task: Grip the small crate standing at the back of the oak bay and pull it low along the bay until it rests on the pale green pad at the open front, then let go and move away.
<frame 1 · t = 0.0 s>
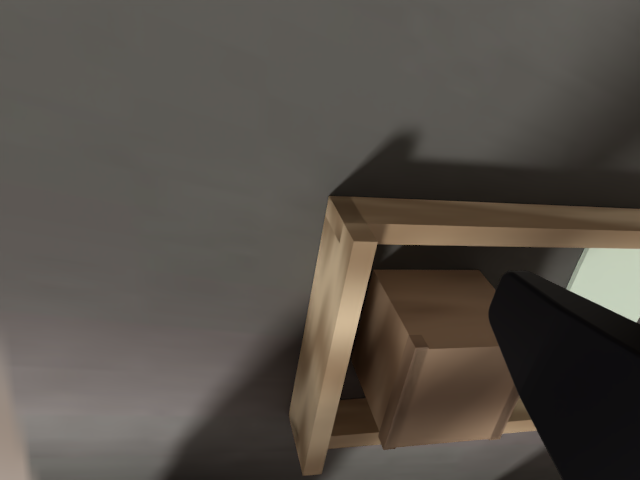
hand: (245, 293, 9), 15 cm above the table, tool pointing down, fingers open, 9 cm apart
crate: (413, 315, 30), resting in bay
front pad: (597, 312, 33), on the table
bay: (487, 315, 31), on the table
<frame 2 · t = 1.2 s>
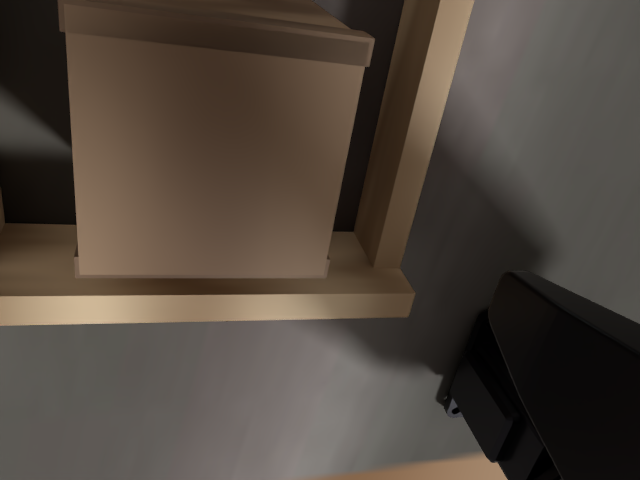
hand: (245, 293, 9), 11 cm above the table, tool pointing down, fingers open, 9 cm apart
crate: (202, 87, 17), resting in bay
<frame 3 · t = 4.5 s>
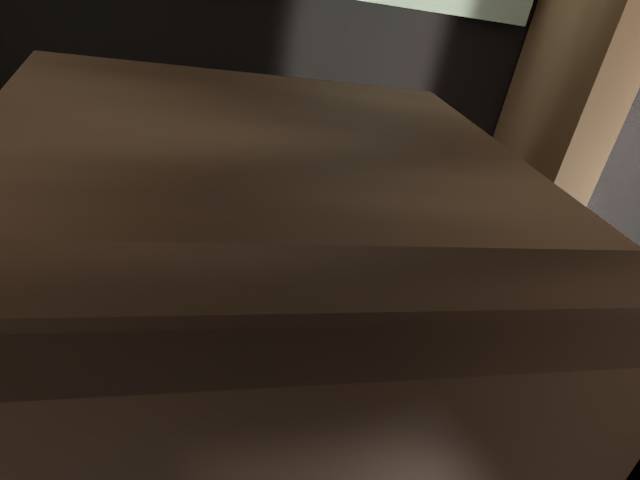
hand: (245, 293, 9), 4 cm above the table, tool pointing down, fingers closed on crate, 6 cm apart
crate: (235, 242, 10), point 3 cm above the table, touching gripper
bay: (227, 201, 12), on the table
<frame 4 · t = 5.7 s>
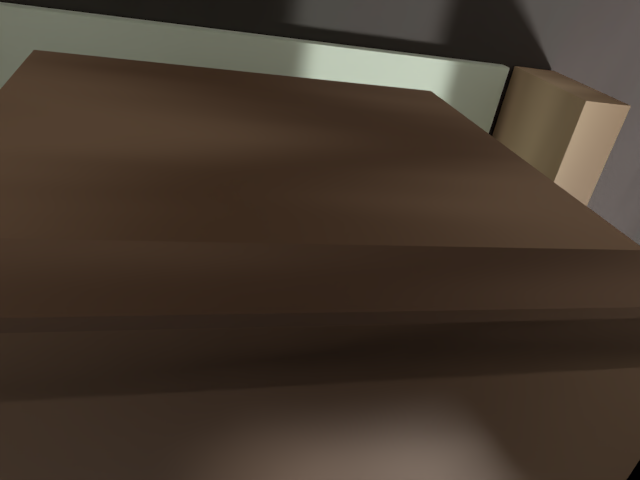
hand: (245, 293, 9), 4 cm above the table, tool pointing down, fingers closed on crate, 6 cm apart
crate: (235, 241, 10), point 2 cm above the table, touching gripper
front pad: (226, 177, 12), on the table
bay: (205, 422, 16), on the table
when the fingers open (2 cm above the table, at t = 6.6 s): crate stays where it is, resting on front pad.
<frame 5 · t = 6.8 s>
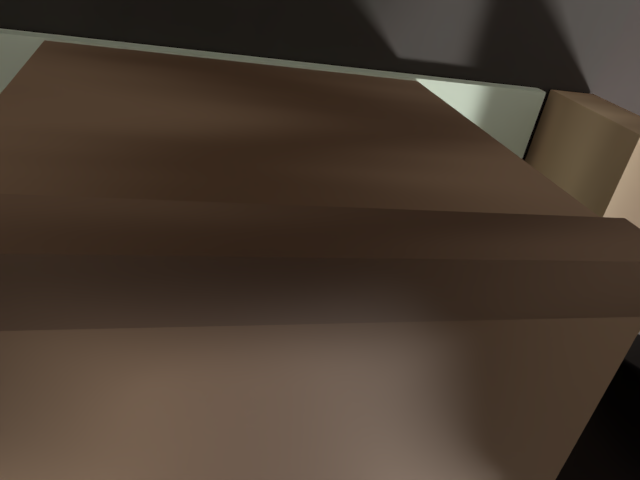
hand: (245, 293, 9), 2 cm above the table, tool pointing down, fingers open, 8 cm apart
crate: (232, 224, 10), resting on front pad
front pad: (229, 214, 11), on the table
bay: (206, 471, 14), on the table
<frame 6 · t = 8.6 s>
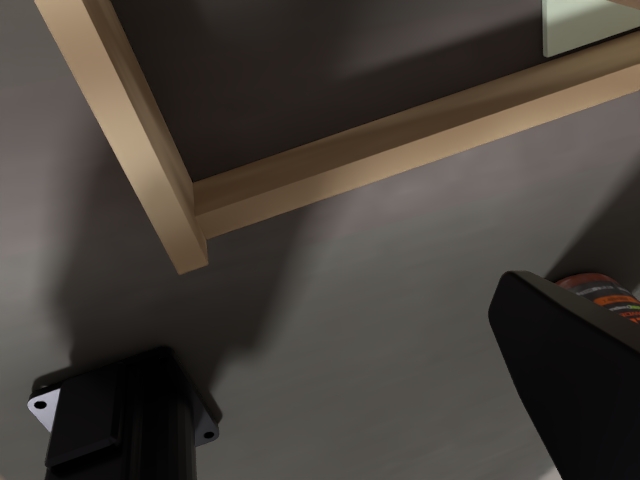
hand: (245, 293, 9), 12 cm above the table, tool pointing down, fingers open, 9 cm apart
supplement bottle: (563, 310, 30), on the table
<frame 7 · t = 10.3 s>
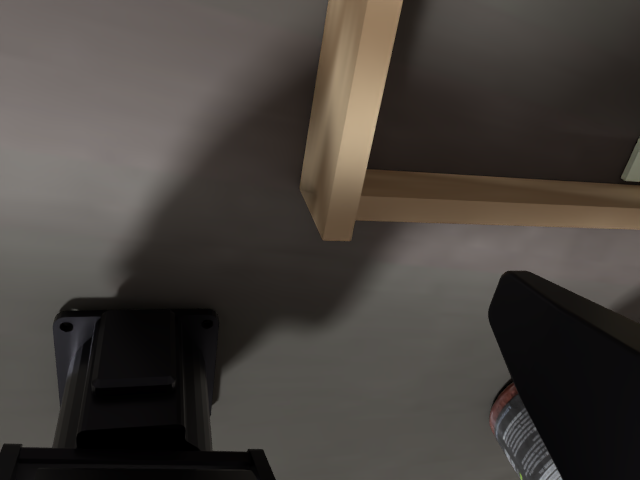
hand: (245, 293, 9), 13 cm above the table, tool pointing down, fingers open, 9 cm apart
supplement bottle: (529, 397, 33), on the table
bay: (588, 37, 22), on the table
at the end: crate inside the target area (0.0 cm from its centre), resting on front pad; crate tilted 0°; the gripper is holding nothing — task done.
